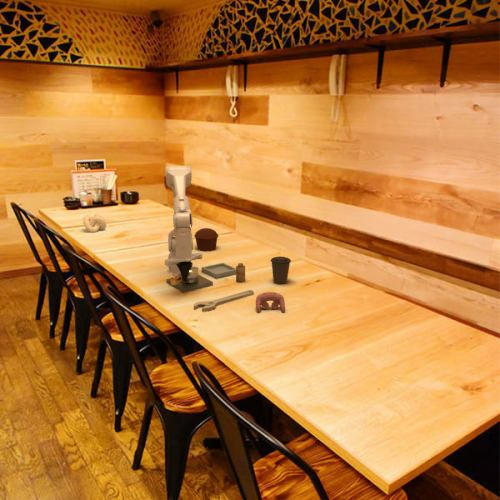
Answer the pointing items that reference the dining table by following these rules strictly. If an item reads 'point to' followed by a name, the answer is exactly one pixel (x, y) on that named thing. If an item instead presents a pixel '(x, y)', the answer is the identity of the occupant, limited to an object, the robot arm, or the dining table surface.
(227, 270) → the tray
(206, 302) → the adjustable wrench
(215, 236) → the muffin
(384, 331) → the dining table surface
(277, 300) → the video game controller
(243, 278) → the orange bottle
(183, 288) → the chuck base
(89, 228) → the pretzel
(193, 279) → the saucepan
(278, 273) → the coffee cup
